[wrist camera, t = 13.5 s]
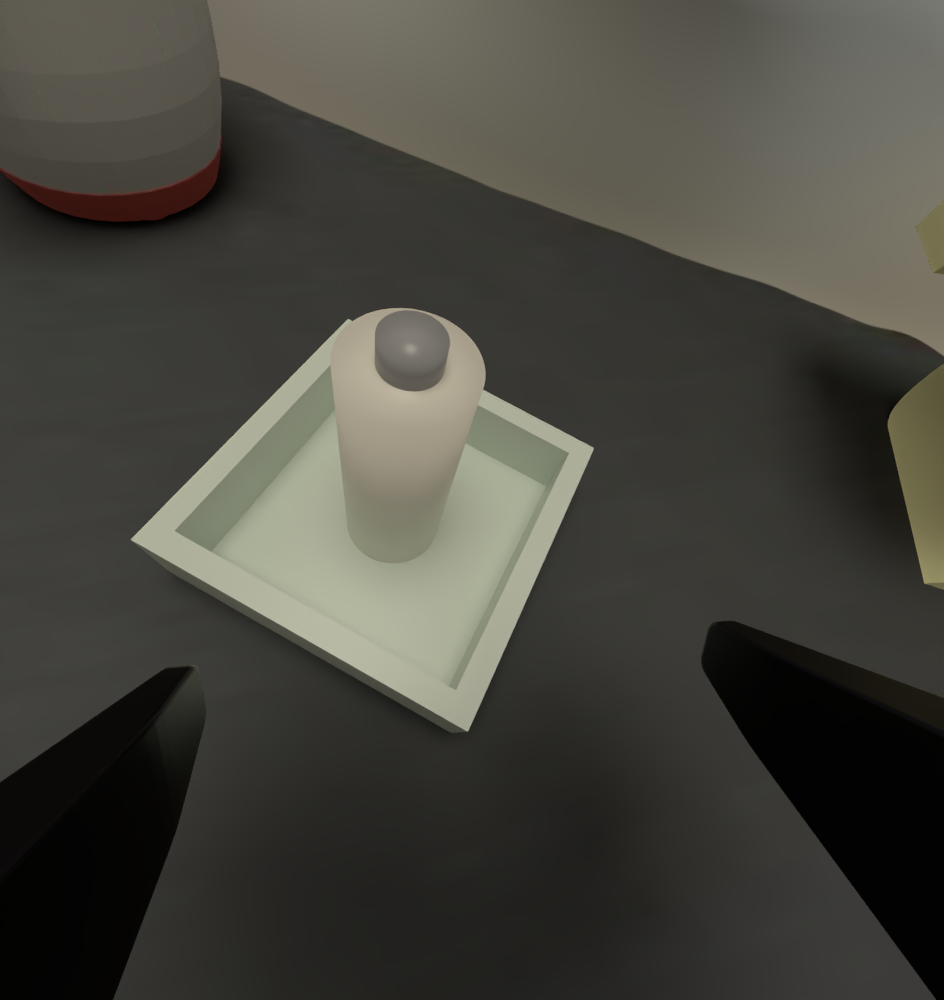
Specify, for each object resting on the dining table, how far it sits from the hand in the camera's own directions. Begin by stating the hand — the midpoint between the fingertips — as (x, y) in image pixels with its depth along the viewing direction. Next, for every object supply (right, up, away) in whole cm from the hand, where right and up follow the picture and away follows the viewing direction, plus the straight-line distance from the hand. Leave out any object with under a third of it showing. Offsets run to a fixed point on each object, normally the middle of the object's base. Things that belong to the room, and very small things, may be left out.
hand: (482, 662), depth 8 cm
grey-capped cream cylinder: (-4, +2, +15) cm, 16 cm away
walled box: (-4, +2, +15) cm, 16 cm away
